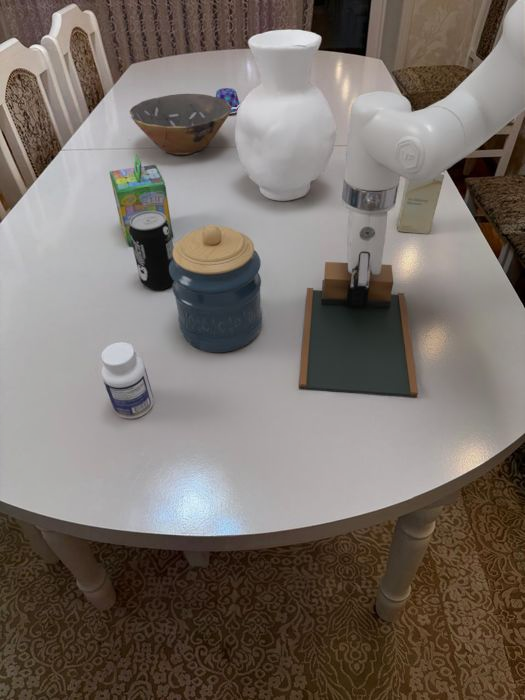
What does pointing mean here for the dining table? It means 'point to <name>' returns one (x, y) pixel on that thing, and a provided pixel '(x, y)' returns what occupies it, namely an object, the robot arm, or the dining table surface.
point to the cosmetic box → (419, 205)
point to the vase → (284, 117)
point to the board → (357, 348)
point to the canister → (217, 288)
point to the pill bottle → (126, 380)
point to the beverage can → (152, 248)
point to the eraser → (340, 279)
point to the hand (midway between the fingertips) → (355, 294)
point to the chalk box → (139, 193)
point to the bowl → (181, 121)
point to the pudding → (229, 97)
